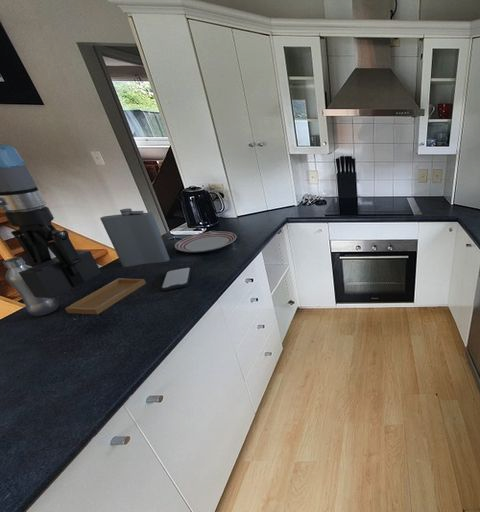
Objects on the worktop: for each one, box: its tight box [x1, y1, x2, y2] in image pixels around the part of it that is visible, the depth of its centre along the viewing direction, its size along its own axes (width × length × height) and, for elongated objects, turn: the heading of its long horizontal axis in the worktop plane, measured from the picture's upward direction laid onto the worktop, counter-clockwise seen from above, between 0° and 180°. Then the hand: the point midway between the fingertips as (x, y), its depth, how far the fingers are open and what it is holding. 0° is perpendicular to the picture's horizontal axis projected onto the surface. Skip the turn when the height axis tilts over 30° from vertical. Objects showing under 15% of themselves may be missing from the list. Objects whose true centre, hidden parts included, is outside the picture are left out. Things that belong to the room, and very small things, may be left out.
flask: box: [99, 207, 171, 268], centre depth 119 cm, size 17×5×25 cm, turn 111°
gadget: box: [19, 249, 102, 298], centre depth 80 cm, size 14×5×8 cm, turn 176°
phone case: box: [160, 267, 192, 292], centre depth 111 cm, size 9×2×16 cm
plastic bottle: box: [2, 256, 60, 317], centre depth 87 cm, size 6×7×20 cm
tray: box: [64, 277, 147, 315], centre depth 100 cm, size 11×20×2 cm, turn 177°
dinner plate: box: [174, 231, 238, 254], centre depth 141 cm, size 27×27×3 cm
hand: (69, 283), depth 81 cm, fingers closed on gadget, 5 cm apart
